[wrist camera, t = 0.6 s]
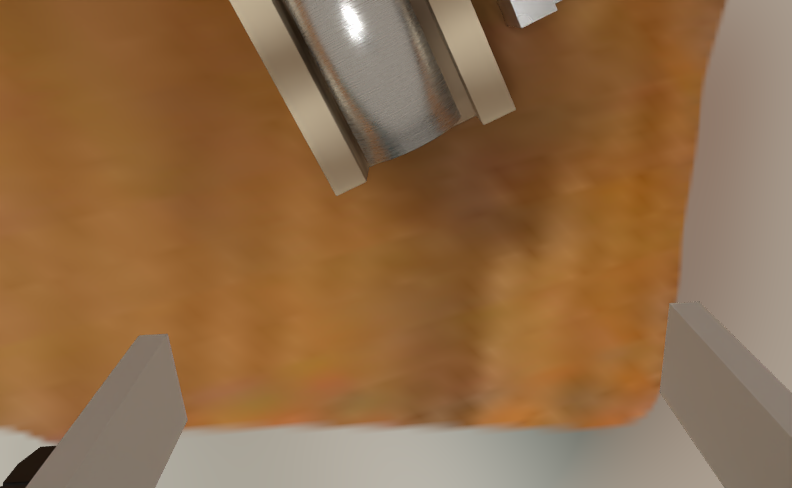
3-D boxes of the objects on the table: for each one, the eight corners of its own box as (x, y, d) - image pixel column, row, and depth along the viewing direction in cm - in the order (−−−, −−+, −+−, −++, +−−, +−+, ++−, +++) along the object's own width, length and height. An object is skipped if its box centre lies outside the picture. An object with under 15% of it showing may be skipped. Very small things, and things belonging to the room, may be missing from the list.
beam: (210, -66, 35) (188, -74, 32) (390, -170, 34) (389, -192, 30) (342, 179, 41) (336, 196, 37) (504, 99, 39) (516, 109, 35)
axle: (259, -73, 35) (227, -85, 30) (353, -128, 34) (338, -151, 28) (372, 148, 40) (362, 173, 34) (458, 106, 38) (463, 126, 33)
